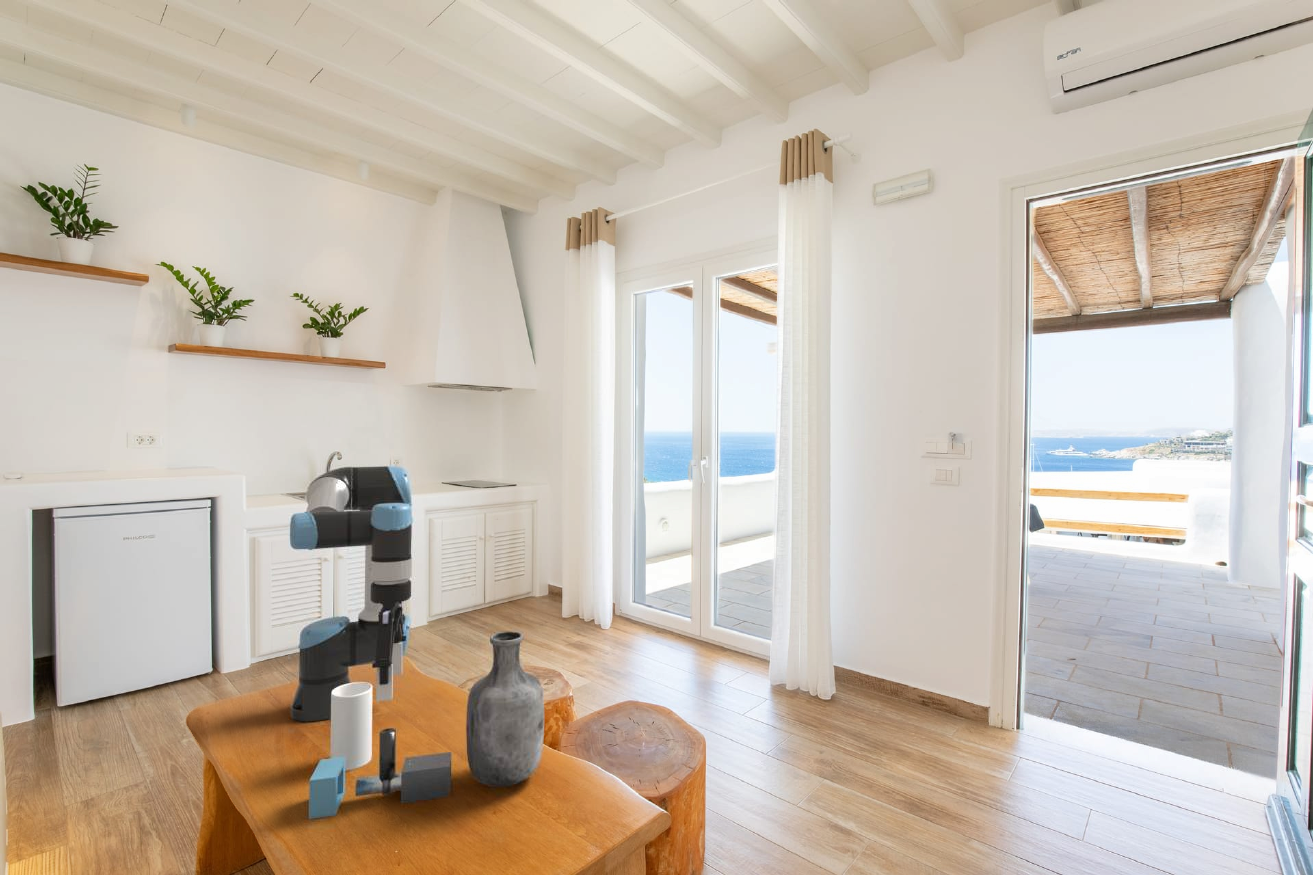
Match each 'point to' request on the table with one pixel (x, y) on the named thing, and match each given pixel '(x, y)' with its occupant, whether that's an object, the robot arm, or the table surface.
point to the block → (426, 777)
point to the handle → (382, 769)
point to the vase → (505, 718)
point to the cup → (352, 724)
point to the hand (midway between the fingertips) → (390, 686)
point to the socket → (327, 787)
